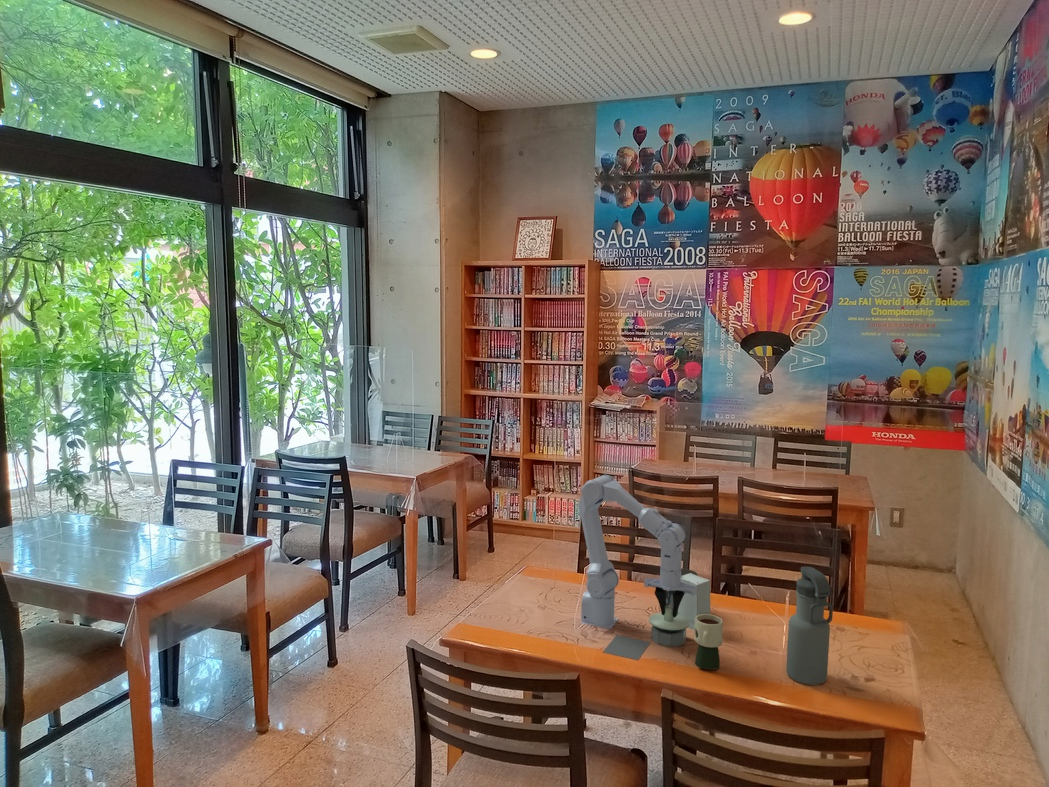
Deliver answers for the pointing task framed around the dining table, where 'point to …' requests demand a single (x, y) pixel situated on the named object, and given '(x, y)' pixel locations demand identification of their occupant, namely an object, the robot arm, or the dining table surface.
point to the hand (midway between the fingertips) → (669, 614)
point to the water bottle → (809, 630)
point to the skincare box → (695, 599)
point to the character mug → (708, 640)
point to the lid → (668, 620)
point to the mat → (626, 647)
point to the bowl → (668, 636)
